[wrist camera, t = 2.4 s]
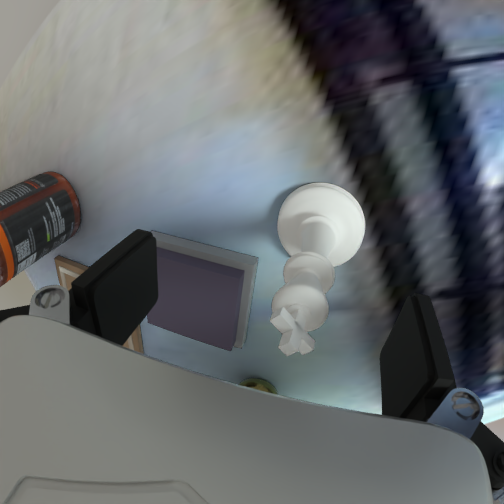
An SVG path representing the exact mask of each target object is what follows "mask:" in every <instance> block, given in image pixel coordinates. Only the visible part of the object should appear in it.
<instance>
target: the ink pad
mask: <svg viewBox="0 0 504 504" xmlns="http://www.w3.org/2000/svg"><path fill="white" fill-rule="evenodd" d="M151 233H152V234H153V237H155V238H156V242H157V274H158V300H157V302H156V304H155V305H154V307H153V308H152V309H151V310H150V312H149V313H148V314H147V319H148V323H150V324H153V325H155V326H158V327H161V328H163V329H166V330H169V331H172V332H174V333H177V334H180V335H183V336H186V337H189V338H192V339H195V340H198V341H201V342H204V343H207V344H210V345H213V346H216V347H219V348H222V349H225V350H228V351H231V350H232V348H233V346H234V347H237V348H241V349H242V347H243V344H244V342H245V340H246V334H247V328H248V322H249V315H250V309H251V302H252V296H253V290H254V283H255V277H256V270H257V264H258V257H254V256H250V255H246V254H242V253H238V252H234V251H230V250H226V249H222V248H218V247H214V246H210V245H206V244H202V243H199V242H195V241H191V240H187V239H183V238H179V237H175V236H171V235H167V234H163V233H159V232H156V231H151Z"/></svg>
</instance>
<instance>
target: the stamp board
mask: <svg viewBox="0 0 504 504" xmlns="http://www.w3.org/2000/svg"><path fill="white" fill-rule="evenodd" d="M54 259H55V264H56V269H57V274H58V278H59V283H60V286H63V287H65V288H66V289H67V290H68V291H69V290H70V289H71V288H72V286H71V282H73V281H74V280H75V279H76V278H77V277H78V276H80V275H81V274H82V273H83V272H84V271H85V270H87V269H88V268H89V267H87V266H85V265H82V264H79V263H77V262H74V261H71V260H69V259H66V258H64V257H61V256H57V257H56V258H54ZM123 346H124V347H126V348H129V349H132V350H134V351H137V352H140V353H142V354H144V351H143V344H142V337H141V330H140V324H139V325H138V327H137V328H136V329H135V331H134V332H133V333H132V334H131V336H130V337H129V338H128V340H127V341H126V342H125V343H124V345H123Z"/></svg>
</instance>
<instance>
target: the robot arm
mask: <svg viewBox="0 0 504 504" xmlns="http://www.w3.org/2000/svg"><path fill="white" fill-rule="evenodd" d="M71 286H72V288H71V289H70V290H69V291H68V290H67V289H66V288H65V287H63V286H59V285H50V286H45V287H43V288H41V289H39V290H38V291H36V292H35V293H34V295H33V296H32V299H31V303H30V305H27V306H22V307H17V308H11V309H6V310H0V504H504V442H503V441H501V439H499V438H498V437H497V436H496V435H495V434H494V433H493V432H492V431H491V430H489V429H488V428H487V427H486V426H485V425H484V424H483V423H482V422H481V419H482V417H483V405H482V402H481V401H480V399H479V398H478V397H477V396H476V395H475V394H474V393H473V392H472V391H470V390H468V389H465V388H457V387H456V383H455V379H454V375H453V371H452V368H451V364H450V360H449V356H448V353H447V349H446V346H445V342H444V339H443V336H442V333H441V330H440V327H439V323H438V320H437V317H436V314H435V311H434V308H433V305H432V302H431V299H430V297H429V296H426V295H421V294H417V293H414V294H413V295H412V296H408V297H407V299H406V301H405V303H404V305H403V307H402V310H401V312H400V314H399V316H398V318H397V320H396V322H395V324H394V327H393V329H392V331H391V333H390V335H389V337H388V339H387V341H386V343H385V345H384V347H383V349H382V351H381V354H380V371H381V391H382V415H379V414H372V413H366V412H360V411H355V410H349V409H343V408H338V407H332V406H327V405H322V404H317V403H312V402H307V401H303V400H298V399H294V398H289V397H285V396H281V395H277V394H273V393H268V392H264V391H261V390H257V389H253V388H249V387H245V386H242V385H238V384H234V383H231V382H227V381H224V380H221V379H217V378H214V377H211V376H207V375H204V374H201V373H198V372H194V371H191V370H188V369H185V368H182V367H179V366H176V365H173V364H170V363H167V362H164V361H162V360H159V359H156V358H153V357H150V356H148V355H145V354H142V353H140V352H137V351H134V350H132V349H129V348H126V347H124V346H123V345H124V343H125V342H126V341H127V340H128V338H129V337H130V336H131V334H132V333H133V332H134V331H135V329H136V328H137V327H138V325H139V324H140V323H141V322H142V320H143V319H144V318H145V317H146V315H147V314H148V313H149V312H150V310H151V309H152V308H153V307H154V305H155V304H156V302H157V300H158V274H157V242H156V238H155V237H153V234H152V233H151V232H148V231H144V230H140V229H137V230H135V231H134V232H133V233H131V234H130V235H129V236H127V237H126V238H125V239H124V240H122V241H121V242H120V243H119V244H117V245H116V246H115V247H114V248H112V249H111V250H110V251H109V252H107V253H106V254H105V255H104V256H102V257H101V258H100V259H99V260H98V261H96V262H95V263H94V264H93V265H91V266H90V267H89V268H88V269H87V270H85V271H84V272H83V273H82V274H81V275H80V276H78V277H77V278H76V279H75V280H74V281H73V282H71Z"/></svg>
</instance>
